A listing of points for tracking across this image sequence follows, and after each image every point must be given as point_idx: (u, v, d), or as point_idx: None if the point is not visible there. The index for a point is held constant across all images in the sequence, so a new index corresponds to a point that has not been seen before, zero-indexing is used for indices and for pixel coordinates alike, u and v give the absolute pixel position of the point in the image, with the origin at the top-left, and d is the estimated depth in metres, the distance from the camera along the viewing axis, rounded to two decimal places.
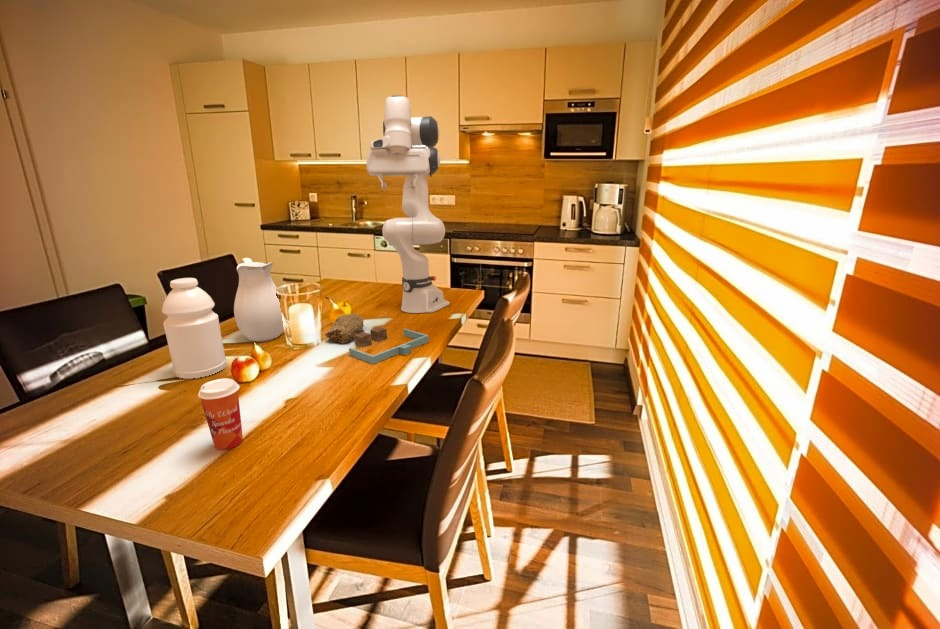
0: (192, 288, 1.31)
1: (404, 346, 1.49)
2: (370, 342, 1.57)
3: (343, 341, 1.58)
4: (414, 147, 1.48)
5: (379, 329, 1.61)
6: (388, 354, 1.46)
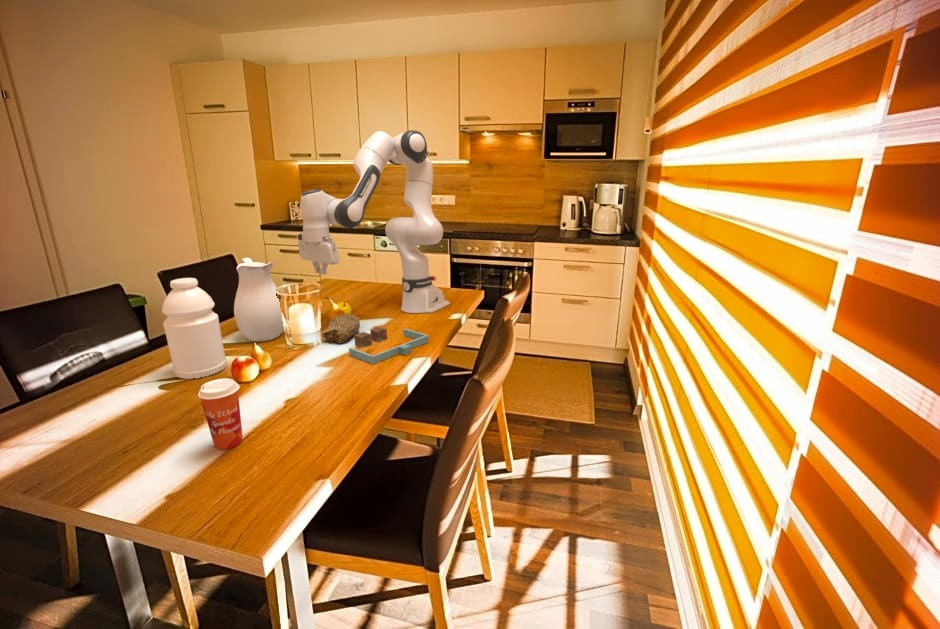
0: (192, 288, 1.31)
1: (404, 346, 1.49)
2: (370, 342, 1.57)
3: (340, 341, 1.58)
4: (324, 239, 1.63)
5: (379, 329, 1.61)
6: (388, 354, 1.46)
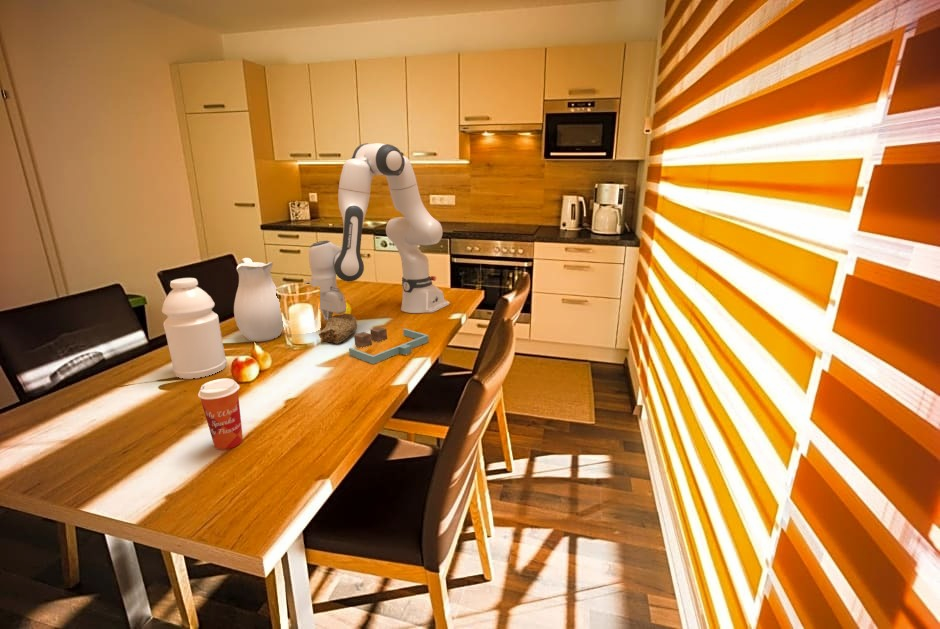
0: (192, 288, 1.31)
1: (404, 346, 1.49)
2: (370, 342, 1.57)
3: (337, 341, 1.58)
4: (332, 289, 1.67)
5: (379, 329, 1.61)
6: (388, 354, 1.46)
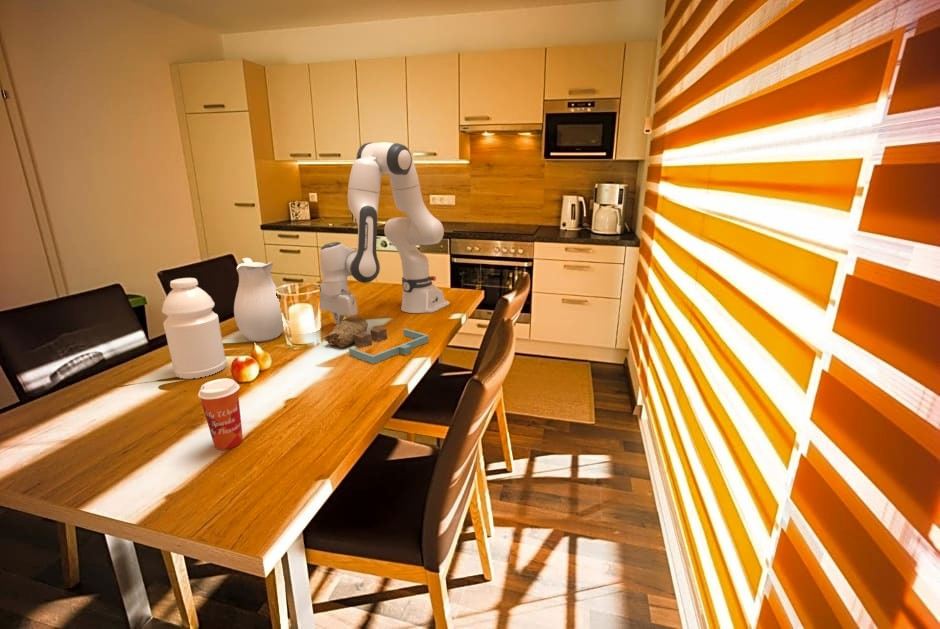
0: (192, 288, 1.31)
1: (404, 346, 1.49)
2: (370, 342, 1.57)
3: (341, 345, 1.54)
4: (343, 292, 1.63)
5: (379, 329, 1.61)
6: (388, 354, 1.46)
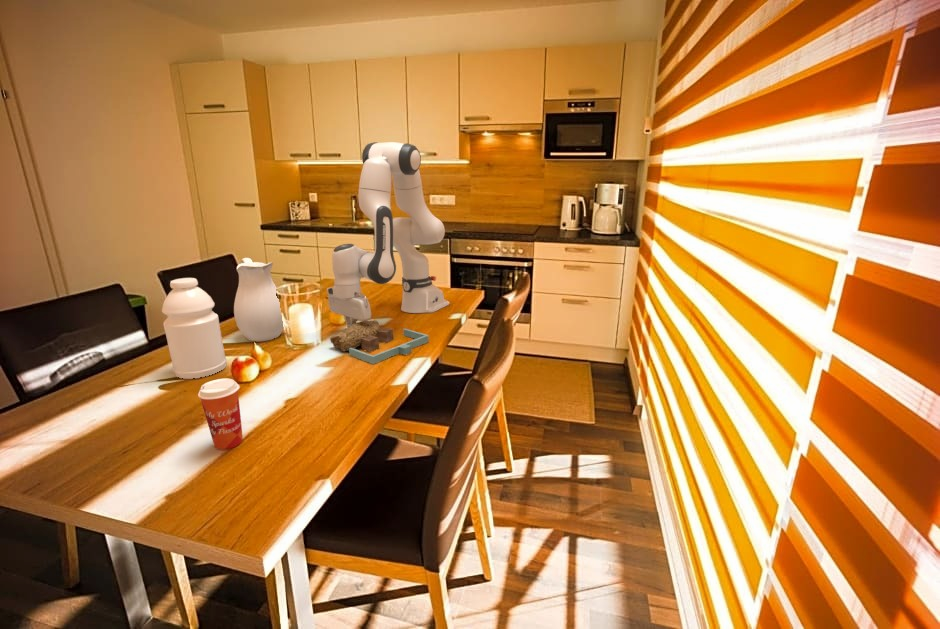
0: (192, 288, 1.31)
1: (404, 346, 1.49)
2: (377, 346, 1.54)
3: (342, 349, 1.51)
4: (356, 295, 1.58)
5: (386, 330, 1.60)
6: (388, 354, 1.46)
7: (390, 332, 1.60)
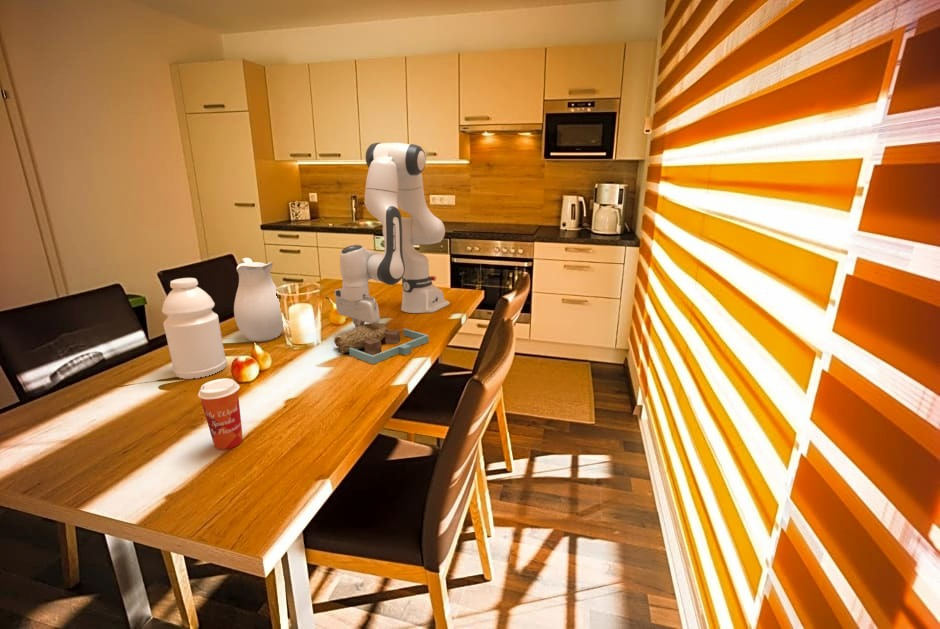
0: (192, 288, 1.31)
1: (404, 346, 1.49)
2: (380, 349, 1.50)
3: (342, 351, 1.49)
4: (364, 297, 1.56)
5: (394, 332, 1.58)
6: (388, 354, 1.46)
7: (398, 334, 1.59)
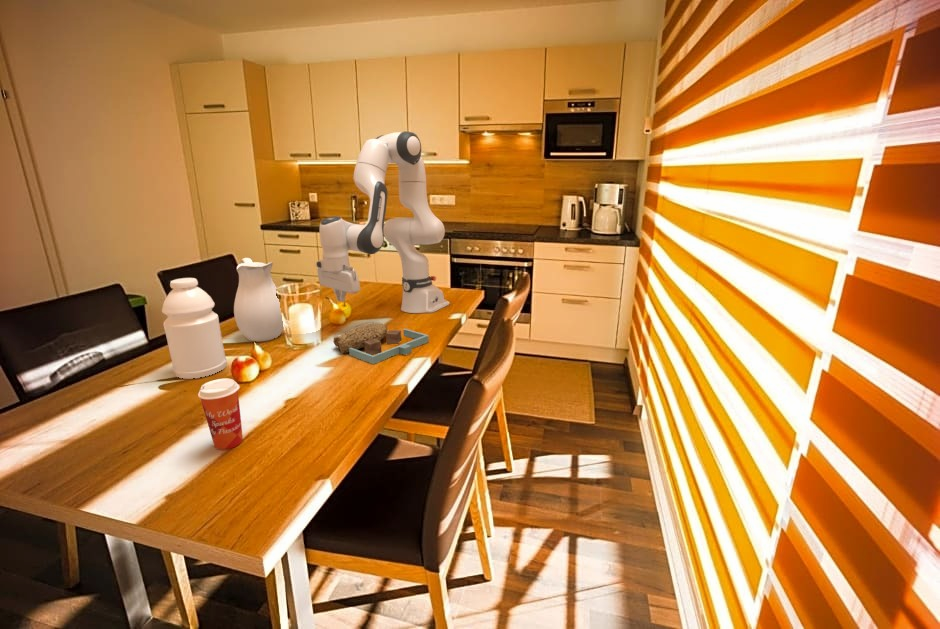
0: (192, 288, 1.31)
1: (404, 346, 1.49)
2: (380, 350, 1.50)
3: (341, 351, 1.50)
4: (344, 268, 1.59)
5: (395, 332, 1.58)
6: (388, 354, 1.46)
7: (399, 334, 1.59)
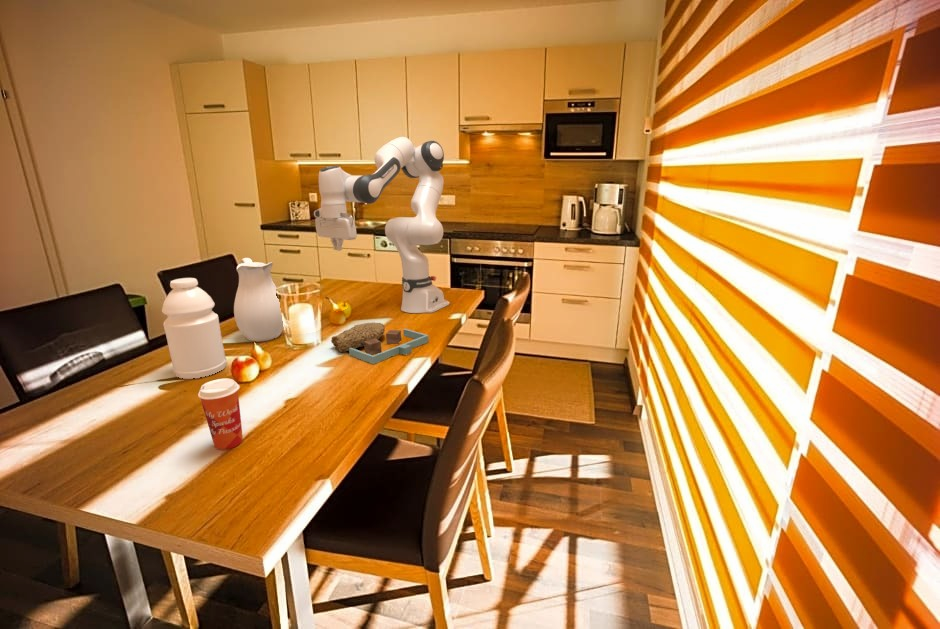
0: (192, 288, 1.31)
1: (404, 346, 1.49)
2: (380, 350, 1.50)
3: (339, 350, 1.50)
4: (342, 215, 1.64)
5: (395, 332, 1.58)
6: (388, 354, 1.46)
7: (399, 334, 1.59)
